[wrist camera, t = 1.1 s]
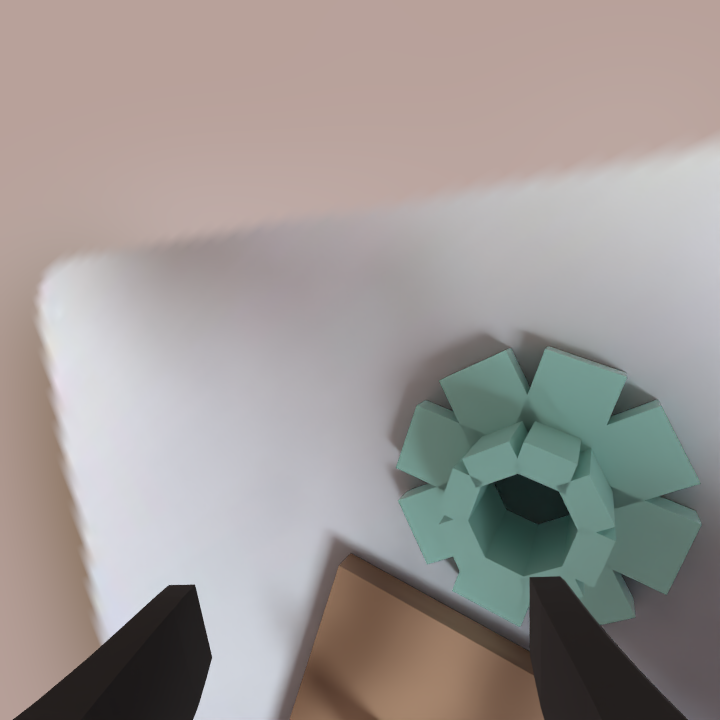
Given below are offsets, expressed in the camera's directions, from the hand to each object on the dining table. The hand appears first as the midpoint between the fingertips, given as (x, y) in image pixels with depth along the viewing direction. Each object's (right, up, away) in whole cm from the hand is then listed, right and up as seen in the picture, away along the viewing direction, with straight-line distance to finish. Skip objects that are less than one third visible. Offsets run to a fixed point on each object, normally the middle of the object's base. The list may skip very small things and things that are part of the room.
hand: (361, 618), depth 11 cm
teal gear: (+7, +1, +9) cm, 11 cm away
